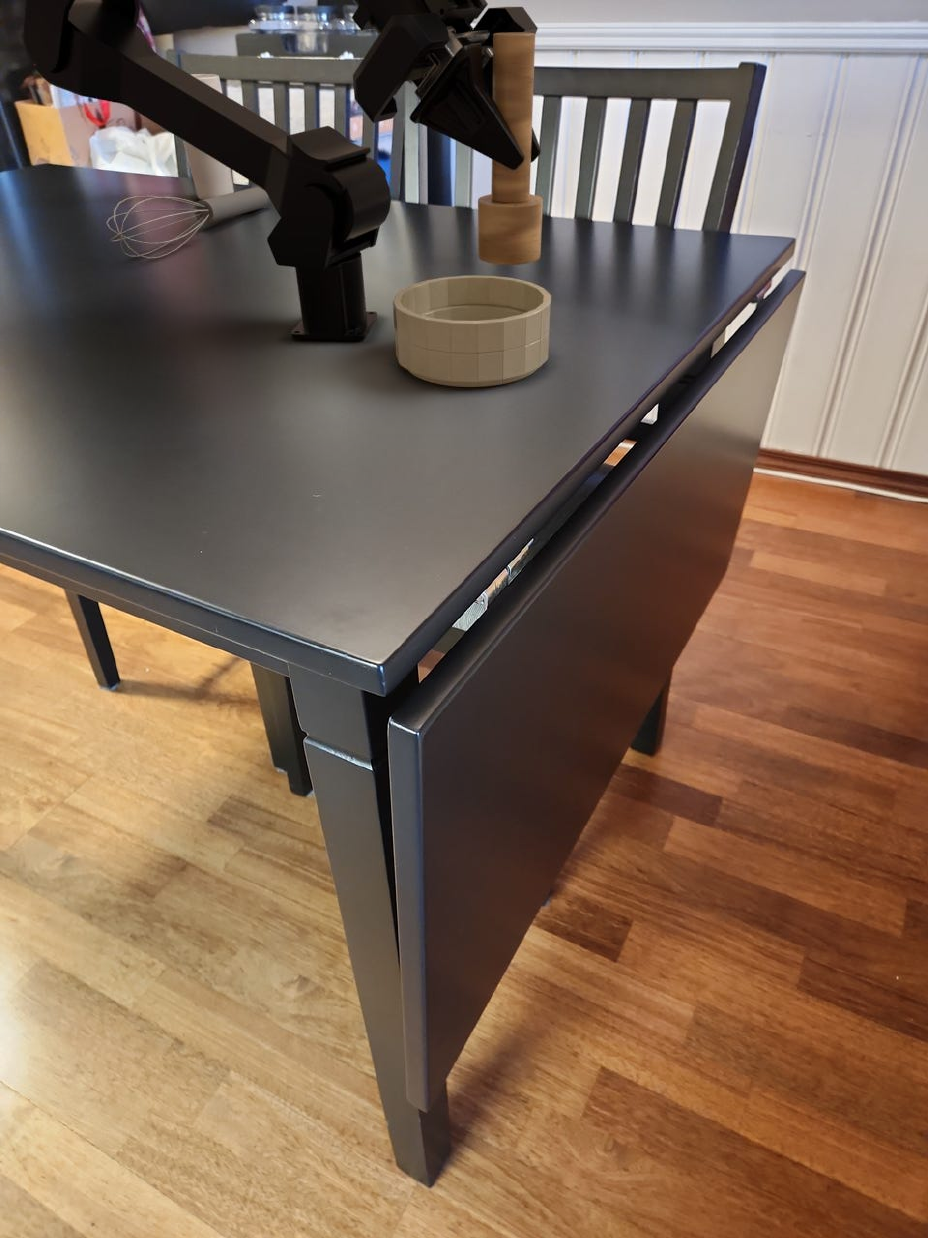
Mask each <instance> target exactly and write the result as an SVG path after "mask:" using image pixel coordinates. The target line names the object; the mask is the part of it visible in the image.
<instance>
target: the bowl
mask: <svg viewBox="0 0 928 1238" xmlns="http://www.w3.org/2000/svg"><path fill="white" fill-rule="evenodd" d="M551 308H552V294H551V293H550V292H549V291H548V290H547V289H546V288H544V287H542V286H540V285H538V284H535V283H533V282H530V281H527V280H521V279H518V278H514V277H506V276H497V275H459V276H455V275H454V276H444V277H439V278H434V279H427V280H424V281H421V282H416V283H414V284H411V285H408V286H406V287H404V288H403V289H401V290H399V291H398V292H396V293H395V295H394V297H393V298H392V313H393V314H392V315H393V326H394V338H395V339H394V342H395V343H394V344H395V356H396V358H397V361H398V364H399V365H400V366H401V367H403V368H404V369H406V370H407V372H409V373H410V374H411V375H413V376H414V377H416V378H418V379H419V380H422V381H425V382H429V383H433V384H437V385H442V386H448V387H459V388H480V387H482V388H483V387H492V386H499V385H505V384H509V383H512V382H517V381H520V380H523V379H525V378H527V377H529V376H531V375H532V374H534V373H535V372H536V371H537V370H538V369H540V368H541V367H542V365H544V364H545V363H546V362H547V361H549V354H550V353H549V352H550V334H551V333H550V332H551V331H550V330H551V312H552V311H551Z"/></svg>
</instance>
